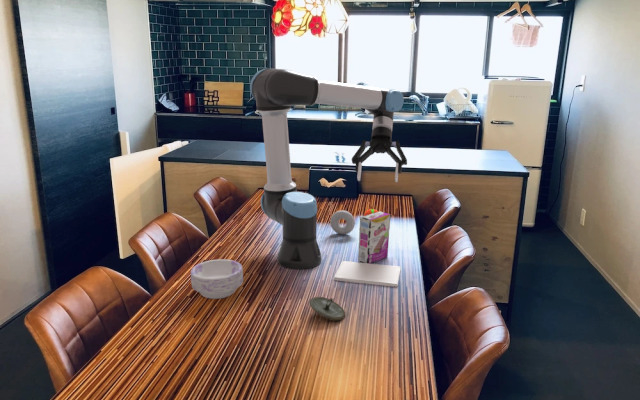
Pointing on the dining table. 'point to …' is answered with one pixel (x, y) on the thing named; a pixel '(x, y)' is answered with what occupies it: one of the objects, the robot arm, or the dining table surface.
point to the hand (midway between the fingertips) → (377, 179)
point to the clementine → (370, 211)
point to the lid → (327, 308)
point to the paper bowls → (217, 278)
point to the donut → (338, 227)
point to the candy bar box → (373, 237)
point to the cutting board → (368, 273)
